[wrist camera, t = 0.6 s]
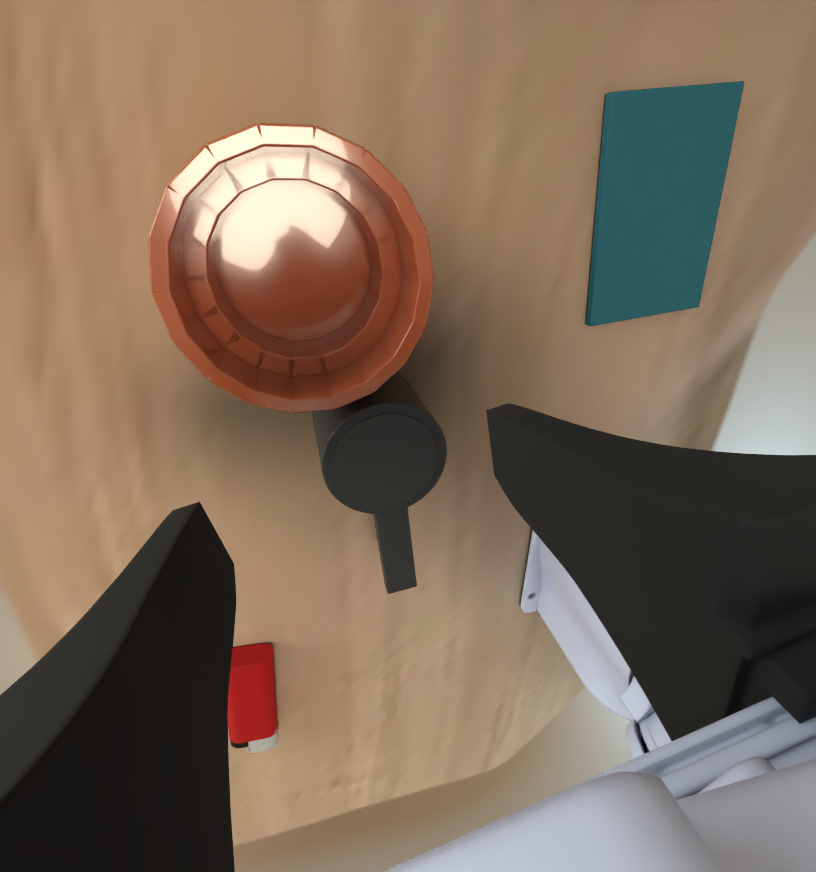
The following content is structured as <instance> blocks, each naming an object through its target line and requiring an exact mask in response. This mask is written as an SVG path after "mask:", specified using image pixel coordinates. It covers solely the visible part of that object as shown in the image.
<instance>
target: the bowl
mask: <svg viewBox="0 0 816 872" xmlns="http://www.w3.org/2000/svg"><path fill="white" fill-rule="evenodd" d="M149 237H150V238H149V240H148V243H149V262H150V281H151V291H152V292H153V293H152V296H153V298H154V300H155V303H156V305H157V307H158V310H159V312H160V314H161V317H162V319H163V321H164V324H165V326H166V328H167V331H168V333H169V335H170V338H171V340H172V341H173V343H174V344H175V345H176V346H177V348H178V349H179V350H180V351H181V352H182V353H183V354H184V355H185V356H186V358H187V359H188V360H189V361H190V362H191V363H192V364H193V365H194V366H195V367H196V369H197V370H198V371H199V372H200V373H201V374H202V375H203V376H204V377H205V378H206V379H207V380H208V381H210V382H211V383H213V384H215V385H217V386H218V387H220V388H222V389H224V390H225V391H227V392H229V393H230V394H232V395H234V396H236V397H237V398H239V399H241V400H243V401H244V402H246V403H249V404H252V405H256V406H261V407H265V408H270V409H274V410H279V411H284V412H288V413H292V412H293V413H302V412H312V411H323V410H333V409H337V408H339V407H342V406H344V405H346V404H349V403H351V402H353V401H355V400H358V399H360V398H362V397H365V396H367V395H369V394H371V393H373V392H375V391H376V390H377V389H378V388H379V387H380V386H381V385H383V384H384V383H385V382H386V381H387V380H388V379H389V378H390V377H391V376H392V375H394V374H395V373H396V372H397V371H398V370H399V369H400V368H401V367H402V366H403V365H404V364H405V363H406V361H407V360H408V358H409V356H410V354H411V352H412V351H413V349H414V347H415V345H416V344H417V342H418V340H419V338H420V336H421V335H422V333H423V331H424V329H425V326H426V324H427V318H428V313H429V308H430V303H431V298H432V292H433V287H434V275H433V267H432V260H431V252H430V245H429V237H428V235H427V231H426V229H425V226H424V224H423V222H422V220H421V218H420V216H419V214H418V212H417V210H416V208H415V206H414V204H413V202H412V200H411V198H410V196H409V194H408V192H407V190H406V189H405V188H404V185H403V184H402V183H401V182H400V181H399V180H398V179H397V178H396V177H395V176H394V175H393V174H391V173H390V172H389V171H388V170H387V169H386V168H385V167H384V166H383V165H382V164H381V163H380V162H379V161H378V160H377V159H376V158H375V157H374V156H373V155H372V154H371V153H370V152H369V151H368V150H365V148H364V147H362V146H360V145H358V144H355V143H353V142H351V141H349V140H347V139H344V138H342V137H340V136H338V135H336V134H333V133H331V132H329V131H327V130H325V129H322V128H320V127H318V126H315V127H314V126H313V125H300V124H275V123H259V124H254V125H251V126H248V127H246V128H243V129H241V130H238V131H236V132H233V133H231V134H228V135H226V136H223V137H221V138H218V139H216V140H213V141H211V142H208V143H207V144H206V145H204V146H203V147H202V148H201V149H200V150H199V151H198V152H197V153H196V154H195V155H194V156H193V157H192V158H191V159H190V160H189V161H188V163H187V164H186V165H185V166H184V167H183V168H182V169H181V170H180V171H179V172H178V173H177V174H176V175H175V176H174V177H173V178H172V179H171V181H170V182H169V183H168V186H166V188H165V191H164V193H163V196H162V199H161V202H160V205H159V208H158V211H157V214H156V216H155V219H154V222H153V225H152V228H151V231H150V234H149Z"/></svg>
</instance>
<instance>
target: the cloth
mask: <svg viewBox="0 0 816 872" xmlns="http://www.w3.org/2000/svg"><path fill="white" fill-rule="evenodd" d="M743 86H744V81H739V82H727V83H715V84H703V85H691V86H679V87H666V88H654V89H642V90H630V91H618V92H610V93H607V94H606V99H605V111H604V122H603V133H602V145H601V156H600V167H599V179H598V190H597V201H596V213H595V224H594V235H593V247H592V258H591V269H590V281H589V292H588V303H587V315H586V325H589V326H594V325H600V324H605V323H611V322H617V321H622V320H628V319H633V318H639V317H644V316H650V315H656V314H661V313H667V312H672V311H678V310H684V309H689V308H695V307H699V304H700V299H701V294H702V289H703V284H704V279H705V274H706V269H707V264H708V259H709V254H710V249H711V244H712V239H713V234H714V230H715V225H716V220H717V215H718V210H719V205H720V200H721V195H722V190H723V185H724V180H725V175H726V170H727V165H728V160H729V156H730V151H731V146H732V141H733V136H734V131H735V126H736V121H737V116H738V111H739V106H740V101H741V96H742V91H743Z"/></svg>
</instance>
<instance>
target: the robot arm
mask: <svg viewBox="0 0 816 872" xmlns="http://www.w3.org/2000/svg"><path fill="white" fill-rule="evenodd" d="M486 411H487V419H488V427H489V435H490V443H491V451H492V459H493V467H494V475H495V477H496V479H497V480H498V482H499V484H500V485H501V487H502V489H503V491H504V492H505V494H506V495H507V497H508V499H509V500H510V502H511V503H512V505H513V506H514V507H515V509H516V510H517V511H518V512H519V514H520V515H521V516H522V517H523V519H524V520H525V521H526V522H527V524H528V525H529V526H530V527H531V528H532V536H531V543H530V549H529V555H528V561H527V567H526V574H525V580H524V586H523V592H522V598H521V605H520V606H521V609H522V610H523V612H525V613H530V612H535V611H538V613H539V614H540V616H541V617H542V619H543V621H544V622H545V624H546V625H547V627H548V629H549V630H550V632H551V633H552V635H553V636H554V638H555V640H556V641H557V643H558V644H559V646H560V648H561V649H562V651H563V652H564V654H565V655H566V657H567V659H568V660H569V662H570V663H571V665H572V667H573V668H574V670H575V671H576V673H577V674H578V676H579V678H580V679H581V681H582V682H583V684H584V685H585V687H586V688H587V689H588V691H589V692H590V693H591V694H592V695H593V696H594V697H595V698H596V699H597V700H598V701H599V702H600V703H601V704H602V705H604V706H605V707H606V708H608V709H610V710H611V711H612V712H614V713H616V714H617V715H619V716H621V717H623V718H626V719H628V720H631V721H630V722H629V724H628V725H627V728H626V738H627V743H628V747H629V755H630V759H631V760H630V761H627V762H625V763H623V764H621V765H618V766H616V767H614V768H612V769H609V770H607V771H605V772H603V773H601V774H599V775H596V776H594V777H592V778H590V779H587V780H585V781H583V782H581V783H578V784H576V785H574V786H572V787H570V788H567V789H565V790H563V791H561V792H559V793H556V794H554V795H552V796H549V797H547V798H545V799H543V800H541V801H538V802H536V803H534V804H532V805H529V806H527V807H525V808H523V809H520V810H518V811H516V812H514V813H511V814H509V815H507V816H505V817H502V818H500V819H498V820H496V821H494V822H491V823H489V824H487V825H485V826H482V827H480V828H478V829H476V830H474V831H471V832H469V833H467V834H465V835H462V836H460V837H458V838H456V839H453V840H451V841H449V842H447V843H445V844H443V845H440V846H438V847H436V848H434V849H431V850H429V851H427V852H425V853H422V854H420V855H418V856H416V857H413V858H411V859H409V860H407V861H404V862H402V863H400V864H398V865H396V866H393V867H392V868H389V869H387V870H384V871H383V872H816V455H793V456H792V455H761V454H740V453H727V452H715V451H706V450H697V449H688V448H680V447H673V446H667V445H661V444H655V443H650V442H645V441H639V440H634V439H629V438H625V437H620V436H616V435H613V434H609V433H605V432H601V431H597V430H593V429H590V428H587V427H583V426H580V425H577V424H573V423H570V422H567V421H564V420H561V419H558V418H555V417H552V416H549V415H546V414H543V413H540V412H536V411H533V410H530V409H527V408H524V407H521V406H517V405H514V404H509V403H508V404H505V405H502V406H499V407H496V408H492V409H489V410H486ZM235 612H236V586H235V572H234V563H233V561H232V560H231V558H230V556H229V554H228V552H227V550H226V549H225V547H224V545H223V543H222V541H221V540H220V538H219V536H218V534H217V532H216V531H215V529H214V527H213V525H212V523H211V522H210V520H209V518H208V516H207V514H206V513H205V511H204V509H203V507H202V505H201V503H200V502H198V503H194V504H191V505H188V506H185V507H182V508H179V509H176V510H173V511H172V512H171V513H170V514H169V515H168V516H167V517H166V518H165V520H164V521H163V522H162V523H161V524H160V526H159V527H158V528H157V529H156V531H155V532H154V533H153V534H152V536H151V537H150V538H149V539H148V541H147V542H146V543H145V544H144V546H143V547H142V548H141V549H140V550H139V552H138V553H137V554H136V555H135V557H134V558H133V559H132V560H131V562H130V563H129V564H128V565H127V567H126V568H125V569H124V570H123V571H122V573H121V574H120V575H119V576H118V578H117V579H116V580H115V581H114V582H113V583H112V584H111V585H110V587H109V588H108V589H107V590H106V591H105V592H104V593H103V595H102V596H101V597H100V598H99V599H98V600H97V601H96V603H95V604H94V605H93V606H92V607H91V608H90V609H89V611H88V612H87V613H86V614H85V615H84V616H83V617H82V618H81V619H80V620H79V621H78V623H77V624H76V625H75V626H74V627H73V628H72V629H71V630H70V631H69V632H68V633H67V634H66V635H65V636H64V637H63V638H62V639H61V640H60V641H59V642H58V643H57V644H56V645H55V646H54V647H53V648H52V649H51V650H50V651H49V652H48V653H47V654H46V655H45V656H44V657H43V658H41V659H40V660H39V661H38V662H37V663H36V664H35V665H34V666H33V667H32V668H31V669H30V670H29V671H27V672H26V673H25V674H24V675H23V676H22V677H21V678H19V679H18V680H17V681H16V682H15V683H14V684H13V685H11V686H10V687H9V688H8V689H7V690H6V691H5V692H3V693H2V694H1V695H0V872H235V870H234V856H233V840H232V825H231V810H230V786H229V763H228V693H229V682H230V670H231V659H232V648H233V637H234V625H235Z"/></svg>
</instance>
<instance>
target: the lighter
mask: <svg viewBox="0 0 816 872" xmlns="http://www.w3.org/2000/svg"><path fill="white" fill-rule="evenodd" d="M228 728H229V736H230V741H231V745H232V746H233V747H235V748H243V747H246V751H247V752H252V754H253V753H257V752H262V751H267V750H270V749H272V748H274V747H275V746H276V745H277V743H278V720H277V707H276V690H275V674H274V657H273V648H272V646H271V645H269V644H255V645H248V646H241V647H235V648H232V659H231V670H230V682H229V693H228Z"/></svg>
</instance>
